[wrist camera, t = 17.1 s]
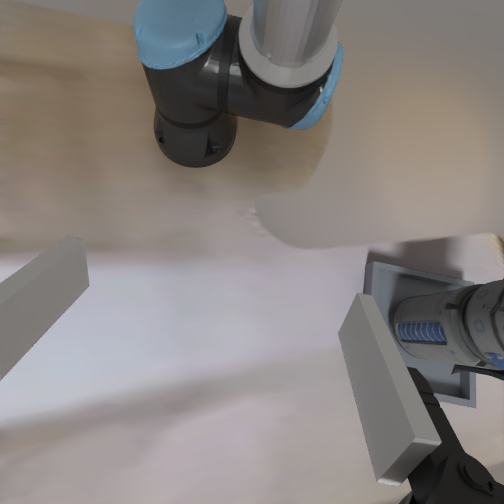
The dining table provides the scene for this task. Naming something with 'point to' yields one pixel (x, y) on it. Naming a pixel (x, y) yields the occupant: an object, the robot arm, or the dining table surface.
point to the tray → (387, 297)
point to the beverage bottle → (455, 328)
